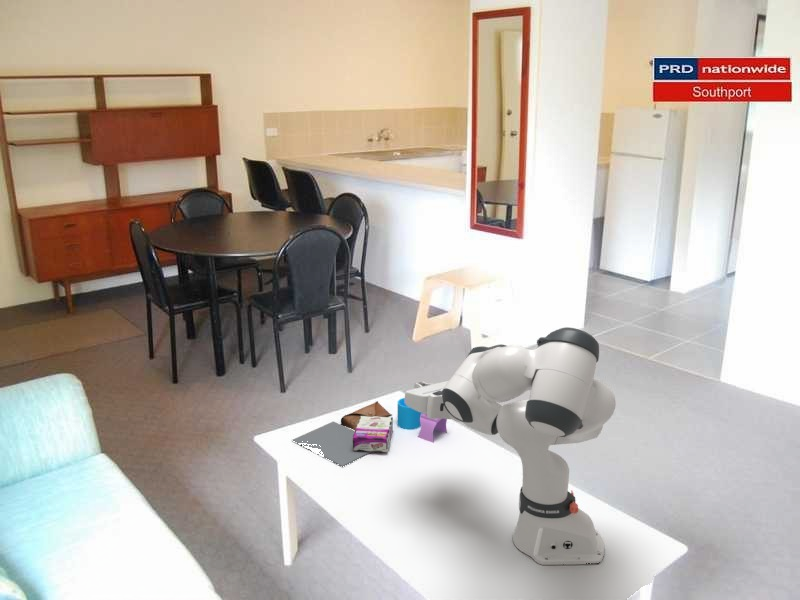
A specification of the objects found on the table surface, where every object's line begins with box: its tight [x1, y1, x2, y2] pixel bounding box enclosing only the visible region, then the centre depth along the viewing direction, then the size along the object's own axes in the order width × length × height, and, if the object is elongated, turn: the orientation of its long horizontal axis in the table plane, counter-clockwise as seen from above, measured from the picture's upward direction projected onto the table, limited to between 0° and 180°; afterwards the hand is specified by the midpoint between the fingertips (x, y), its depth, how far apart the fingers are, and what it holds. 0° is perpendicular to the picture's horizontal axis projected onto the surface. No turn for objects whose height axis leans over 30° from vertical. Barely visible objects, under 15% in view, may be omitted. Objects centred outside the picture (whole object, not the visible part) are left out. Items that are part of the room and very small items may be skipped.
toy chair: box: [417, 413, 448, 443], centre depth 230 cm, size 8×9×15 cm
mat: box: [292, 421, 374, 468], centre depth 226 cm, size 24×18×1 cm
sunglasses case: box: [340, 400, 393, 431], centre depth 243 cm, size 18×7×7 cm, turn 139°
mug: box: [397, 397, 423, 431], centre depth 240 cm, size 12×8×8 cm
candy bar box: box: [353, 416, 394, 453], centre depth 227 cm, size 11×5×16 cm
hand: (418, 385), depth 195 cm, fingers closed
